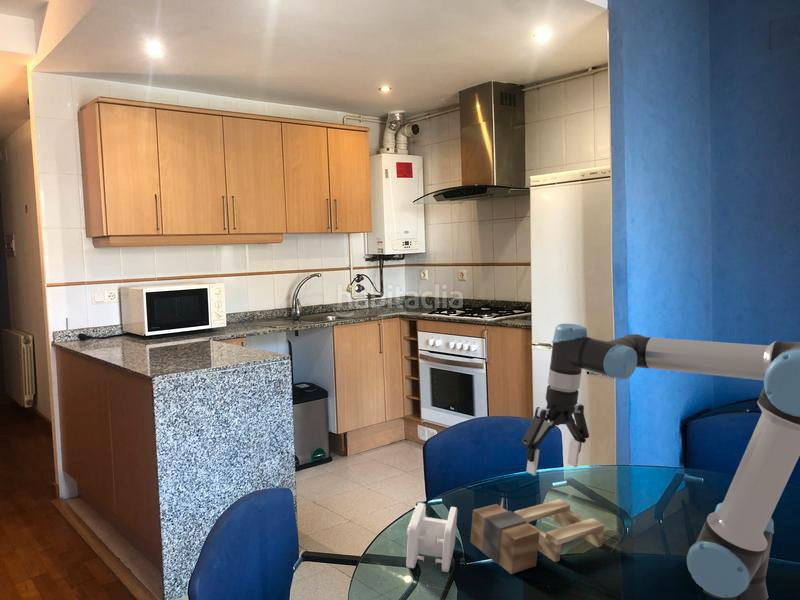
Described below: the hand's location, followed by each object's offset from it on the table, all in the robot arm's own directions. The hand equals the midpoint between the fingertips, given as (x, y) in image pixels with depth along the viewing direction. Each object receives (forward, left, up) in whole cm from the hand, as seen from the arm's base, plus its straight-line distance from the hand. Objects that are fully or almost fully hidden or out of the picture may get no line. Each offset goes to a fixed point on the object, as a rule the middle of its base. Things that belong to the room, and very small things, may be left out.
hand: (552, 469), depth 160 cm
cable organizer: (+11, +28, -23) cm, 38 cm away
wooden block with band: (+5, +10, -23) cm, 25 cm away
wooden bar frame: (+4, -8, -23) cm, 25 cm away
